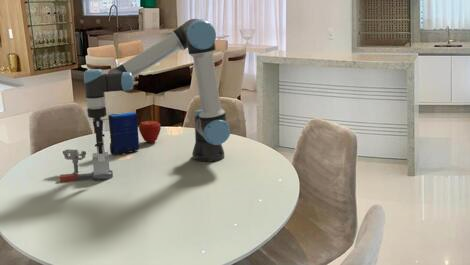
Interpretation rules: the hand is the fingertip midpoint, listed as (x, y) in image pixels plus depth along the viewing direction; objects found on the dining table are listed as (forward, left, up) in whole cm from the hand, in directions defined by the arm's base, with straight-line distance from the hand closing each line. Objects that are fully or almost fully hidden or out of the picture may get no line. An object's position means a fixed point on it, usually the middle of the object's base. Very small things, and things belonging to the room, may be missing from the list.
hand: (101, 156), depth 237 cm
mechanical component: (+11, -10, -9) cm, 18 cm away
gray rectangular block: (0, 0, -7) cm, 7 cm away
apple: (-25, -52, -9) cm, 58 cm away
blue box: (-11, -36, -9) cm, 39 cm away
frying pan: (+7, 0, -9) cm, 11 cm away
